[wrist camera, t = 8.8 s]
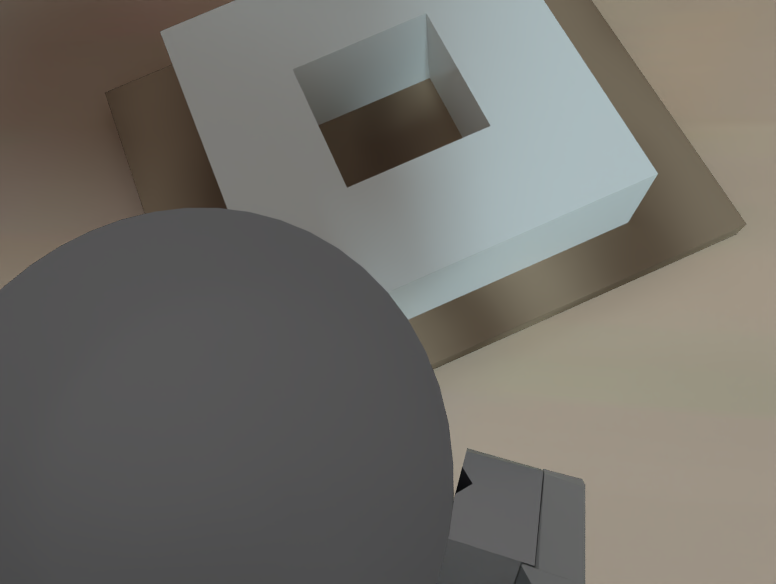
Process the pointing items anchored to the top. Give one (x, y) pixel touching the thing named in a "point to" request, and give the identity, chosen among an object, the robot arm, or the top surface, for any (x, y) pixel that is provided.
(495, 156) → the socket housing
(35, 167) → the top surface
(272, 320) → the plug
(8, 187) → the top surface
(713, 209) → the socket board
